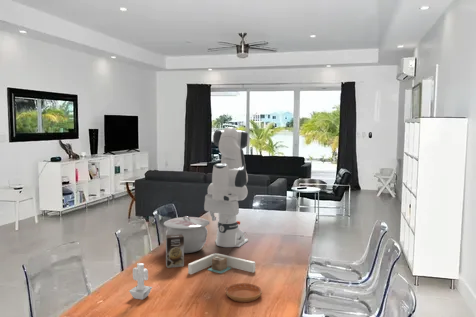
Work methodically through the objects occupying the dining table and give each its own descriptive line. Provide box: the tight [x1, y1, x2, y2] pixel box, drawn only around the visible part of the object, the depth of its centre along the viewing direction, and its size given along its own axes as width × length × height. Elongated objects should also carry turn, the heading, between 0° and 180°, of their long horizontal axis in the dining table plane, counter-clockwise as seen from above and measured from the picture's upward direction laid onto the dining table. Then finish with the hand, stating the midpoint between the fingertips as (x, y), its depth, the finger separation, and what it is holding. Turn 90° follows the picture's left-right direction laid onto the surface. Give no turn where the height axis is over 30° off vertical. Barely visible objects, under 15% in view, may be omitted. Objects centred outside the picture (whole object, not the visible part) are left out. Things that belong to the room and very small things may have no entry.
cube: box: [211, 256, 228, 271], centre depth 216 cm, size 6×6×6 cm
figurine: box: [128, 262, 153, 300], centre depth 182 cm, size 7×9×15 cm
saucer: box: [225, 282, 263, 303], centre depth 184 cm, size 16×16×3 cm
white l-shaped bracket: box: [187, 252, 256, 275], centre depth 212 cm, size 22×26×5 cm
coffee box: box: [165, 234, 185, 269], centre depth 222 cm, size 9×6×16 cm
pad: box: [206, 266, 232, 274], centre depth 217 cm, size 9×9×1 cm
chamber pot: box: [163, 215, 211, 254], centre depth 249 cm, size 28×28×21 cm
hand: (221, 221), depth 215 cm, fingers open, 8 cm apart
